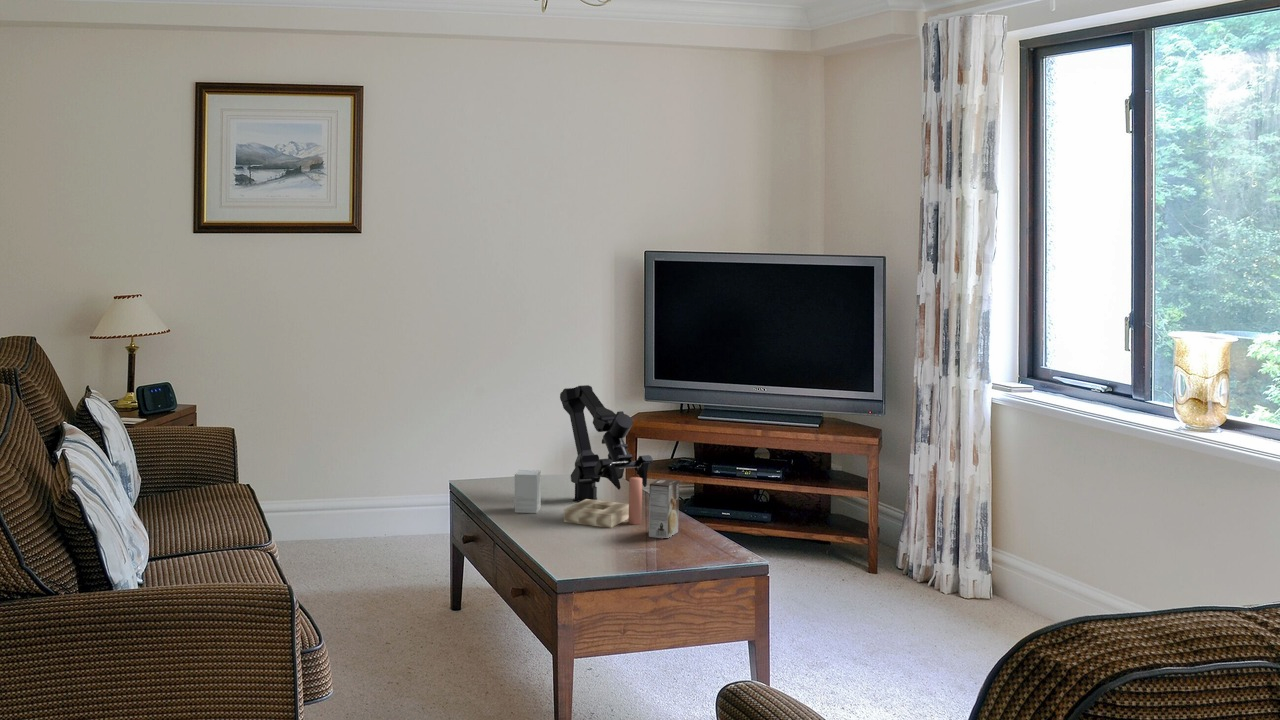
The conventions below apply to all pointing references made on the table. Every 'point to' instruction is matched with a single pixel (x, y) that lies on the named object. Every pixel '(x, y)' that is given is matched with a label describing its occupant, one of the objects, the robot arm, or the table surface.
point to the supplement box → (527, 491)
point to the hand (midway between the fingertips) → (632, 487)
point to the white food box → (663, 508)
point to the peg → (635, 500)
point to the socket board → (597, 513)
